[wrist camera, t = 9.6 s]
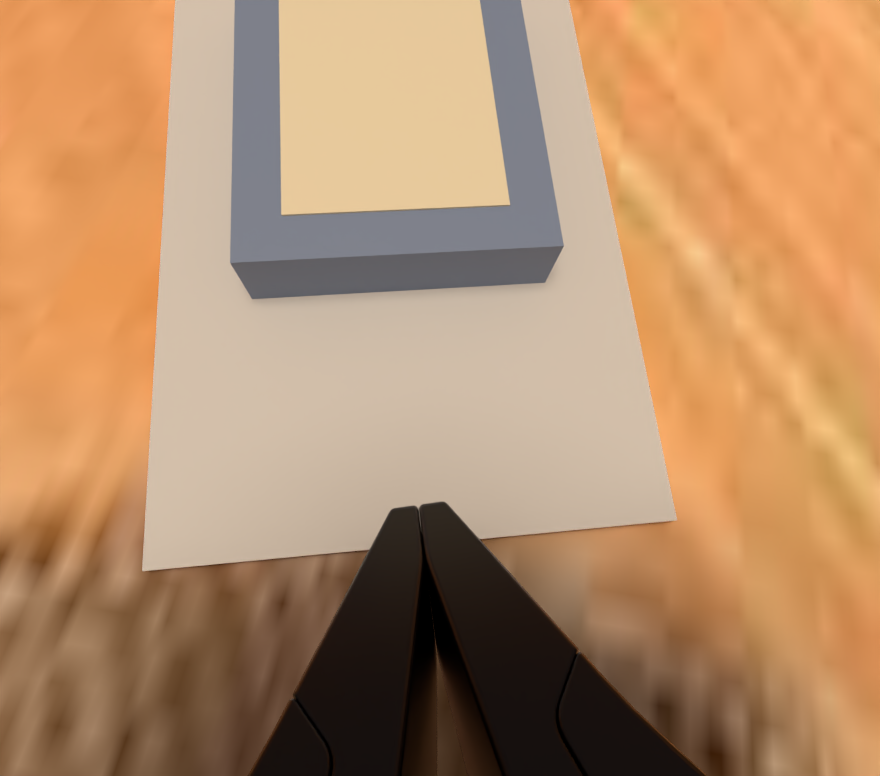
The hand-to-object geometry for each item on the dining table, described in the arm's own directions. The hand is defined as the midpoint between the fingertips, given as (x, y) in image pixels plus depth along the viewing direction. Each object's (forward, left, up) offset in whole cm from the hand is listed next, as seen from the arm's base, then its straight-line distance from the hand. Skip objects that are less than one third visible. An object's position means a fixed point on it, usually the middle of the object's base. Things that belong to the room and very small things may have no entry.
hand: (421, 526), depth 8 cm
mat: (+11, -5, -9) cm, 15 cm away
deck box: (+7, -4, -7) cm, 11 cm away
